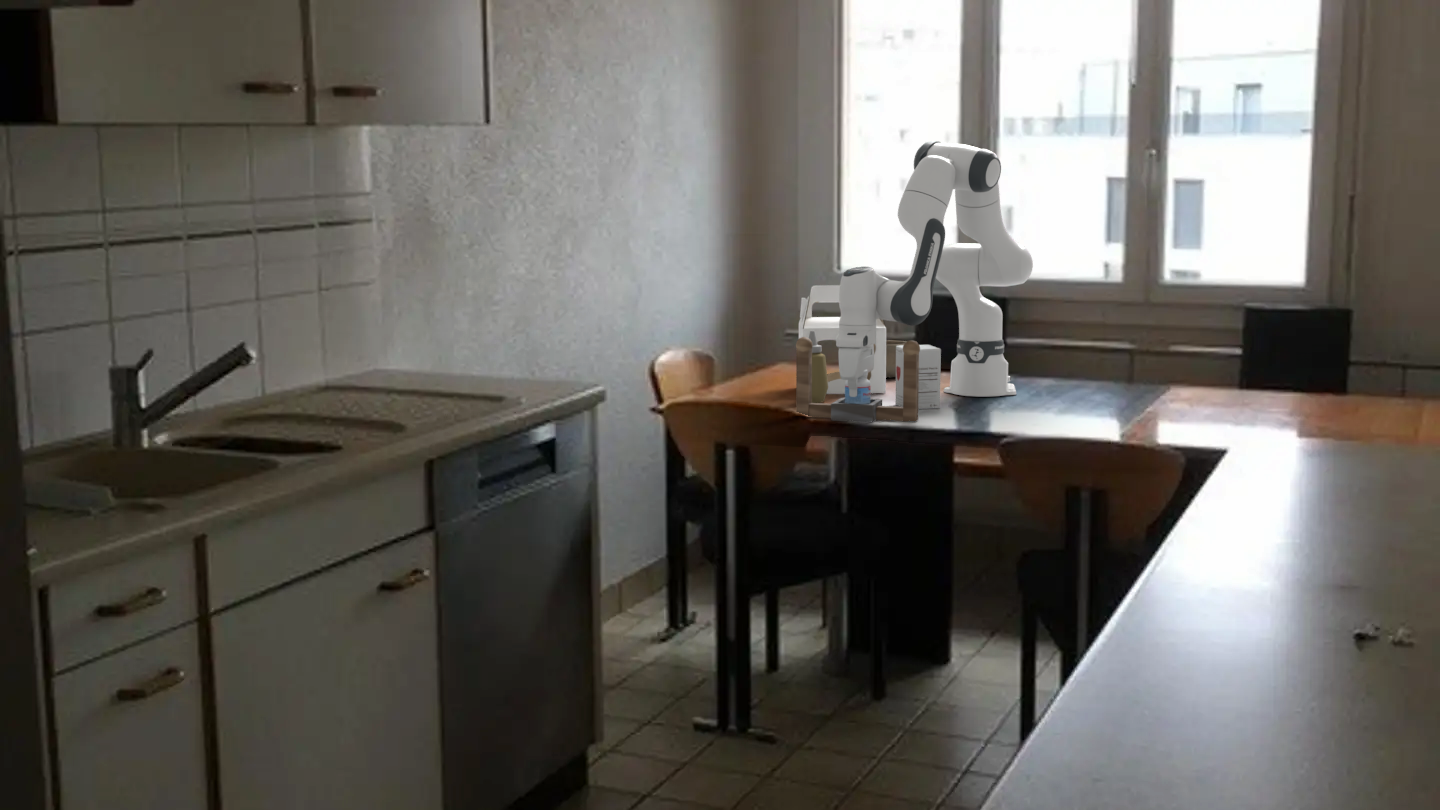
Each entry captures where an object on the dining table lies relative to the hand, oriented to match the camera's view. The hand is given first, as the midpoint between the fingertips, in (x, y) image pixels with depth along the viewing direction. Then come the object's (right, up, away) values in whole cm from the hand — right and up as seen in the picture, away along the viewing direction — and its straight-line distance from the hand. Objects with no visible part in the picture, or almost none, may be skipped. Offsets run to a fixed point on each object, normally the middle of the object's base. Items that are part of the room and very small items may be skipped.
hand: (857, 394), depth 403 cm
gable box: (0, +1, +47) cm, 47 cm away
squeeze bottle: (-9, -2, +27) cm, 29 cm away
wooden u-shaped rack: (0, -6, +1) cm, 6 cm away
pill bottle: (0, -6, +1) cm, 6 cm away
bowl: (+12, +5, +73) cm, 74 cm away
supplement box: (+16, -3, +18) cm, 25 cm away
